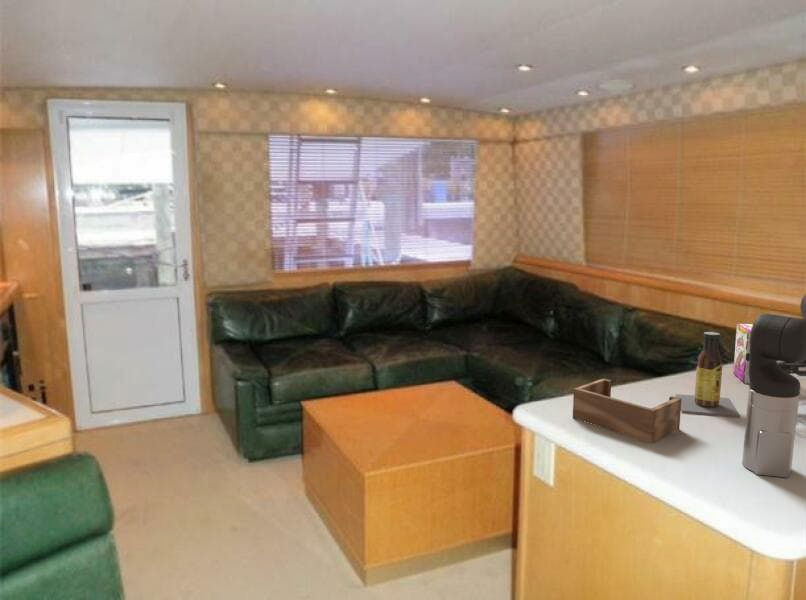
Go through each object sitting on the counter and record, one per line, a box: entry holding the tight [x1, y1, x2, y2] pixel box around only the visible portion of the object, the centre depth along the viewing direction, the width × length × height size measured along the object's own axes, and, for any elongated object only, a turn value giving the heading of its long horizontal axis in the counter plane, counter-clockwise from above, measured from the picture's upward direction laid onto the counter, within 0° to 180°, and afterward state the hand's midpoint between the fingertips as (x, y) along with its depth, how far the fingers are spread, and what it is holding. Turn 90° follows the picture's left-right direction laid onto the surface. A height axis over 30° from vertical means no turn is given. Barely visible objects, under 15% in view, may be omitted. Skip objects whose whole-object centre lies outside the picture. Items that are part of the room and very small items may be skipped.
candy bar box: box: [732, 323, 753, 385], centre depth 198 cm, size 11×5×16 cm, turn 168°
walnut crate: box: [572, 377, 682, 444], centre depth 163 cm, size 13×22×8 cm, turn 40°
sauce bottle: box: [694, 331, 724, 407], centre depth 174 cm, size 6×6×20 cm
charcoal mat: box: [674, 393, 741, 419], centre depth 176 cm, size 14×14×1 cm
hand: (752, 361), depth 172 cm, fingers open, 8 cm apart
